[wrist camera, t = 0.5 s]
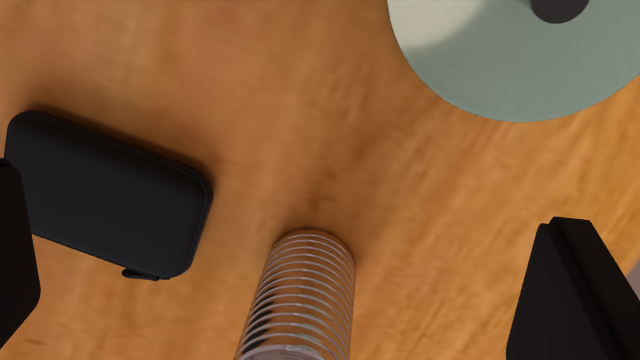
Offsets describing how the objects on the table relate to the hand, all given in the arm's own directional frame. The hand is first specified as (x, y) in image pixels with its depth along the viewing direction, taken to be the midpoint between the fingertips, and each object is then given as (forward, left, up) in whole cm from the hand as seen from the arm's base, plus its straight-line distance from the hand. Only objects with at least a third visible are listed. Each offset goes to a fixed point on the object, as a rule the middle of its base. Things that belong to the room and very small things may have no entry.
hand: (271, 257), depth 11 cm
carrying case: (+14, -17, -29) cm, 37 cm away
